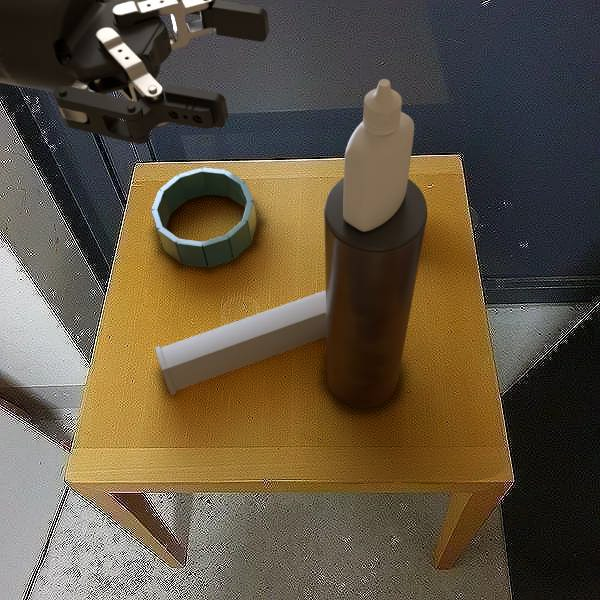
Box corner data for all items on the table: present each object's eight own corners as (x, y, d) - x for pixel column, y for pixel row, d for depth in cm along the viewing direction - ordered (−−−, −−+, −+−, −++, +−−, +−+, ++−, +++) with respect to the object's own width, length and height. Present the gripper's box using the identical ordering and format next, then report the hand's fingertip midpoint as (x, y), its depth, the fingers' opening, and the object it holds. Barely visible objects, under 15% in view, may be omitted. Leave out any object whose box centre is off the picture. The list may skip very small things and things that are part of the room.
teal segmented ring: (148, 259, 88) (139, 238, 85) (175, 185, 95) (168, 163, 91) (243, 272, 87) (239, 251, 83) (264, 196, 93) (261, 173, 89)
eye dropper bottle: (330, 196, 54) (329, 72, 44) (396, 176, 55) (410, 49, 44) (351, 238, 52) (355, 118, 41) (420, 216, 52) (441, 92, 42)
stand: (321, 402, 77) (315, 241, 52) (333, 340, 81) (332, 162, 56) (393, 413, 76) (423, 255, 50) (401, 350, 80) (432, 173, 55)
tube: (356, 268, 82) (152, 339, 77) (375, 294, 78) (160, 370, 73) (360, 302, 85) (165, 372, 81) (378, 328, 81) (174, 403, 77)
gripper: (-55, 51, 41) (199, 95, 38) (54, -80, 48) (275, -51, 45) (-3, 142, 47) (219, 185, 45) (86, 15, 55) (282, 45, 52)
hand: (247, 66), depth 45 cm, fingers open, 8 cm apart
